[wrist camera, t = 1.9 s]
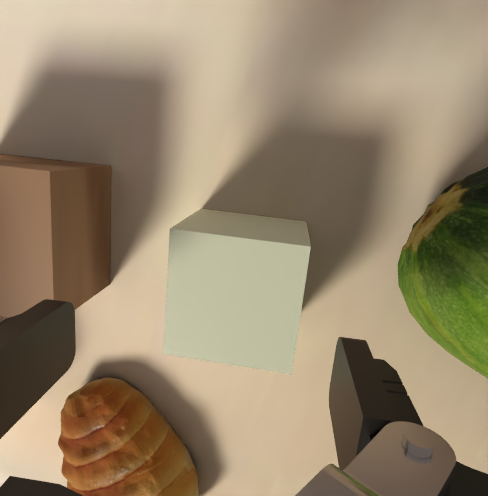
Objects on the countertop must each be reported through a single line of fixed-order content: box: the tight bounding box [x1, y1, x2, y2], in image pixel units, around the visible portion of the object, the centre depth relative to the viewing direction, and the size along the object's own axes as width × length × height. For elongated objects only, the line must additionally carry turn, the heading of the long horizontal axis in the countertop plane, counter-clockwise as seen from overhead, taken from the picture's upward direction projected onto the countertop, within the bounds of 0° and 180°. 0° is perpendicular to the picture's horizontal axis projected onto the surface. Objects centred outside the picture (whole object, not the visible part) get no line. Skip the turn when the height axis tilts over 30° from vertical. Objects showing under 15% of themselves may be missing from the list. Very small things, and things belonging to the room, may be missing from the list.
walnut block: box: [0, 154, 111, 318], centre depth 18 cm, size 6×6×5 cm
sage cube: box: [163, 209, 311, 375], centre depth 17 cm, size 5×5×5 cm
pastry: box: [58, 377, 199, 496], centre depth 21 cm, size 9×7×4 cm
